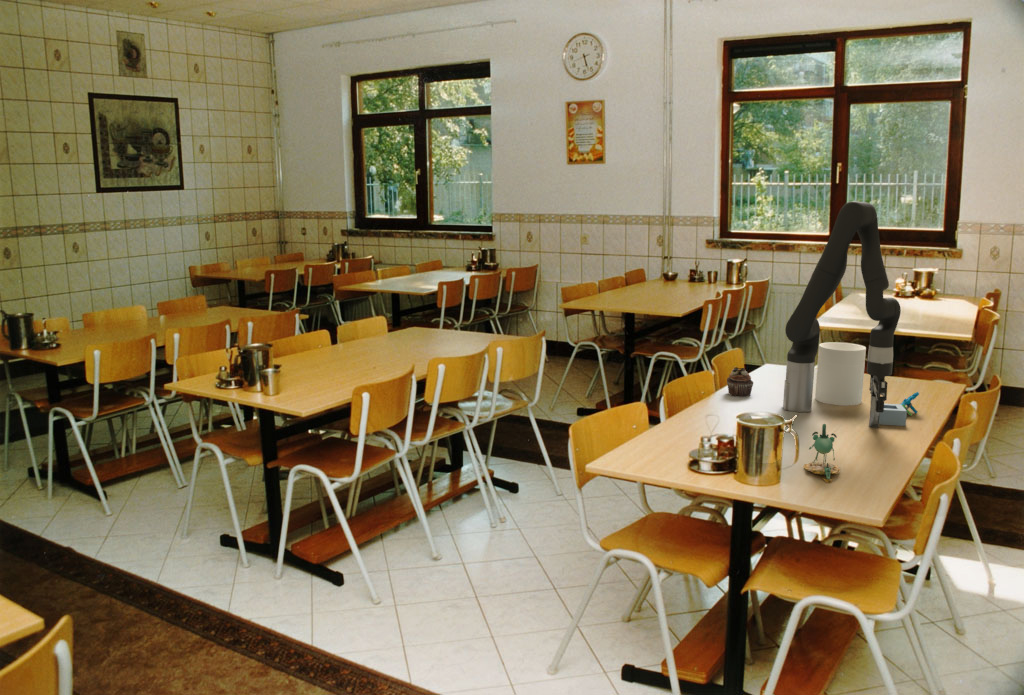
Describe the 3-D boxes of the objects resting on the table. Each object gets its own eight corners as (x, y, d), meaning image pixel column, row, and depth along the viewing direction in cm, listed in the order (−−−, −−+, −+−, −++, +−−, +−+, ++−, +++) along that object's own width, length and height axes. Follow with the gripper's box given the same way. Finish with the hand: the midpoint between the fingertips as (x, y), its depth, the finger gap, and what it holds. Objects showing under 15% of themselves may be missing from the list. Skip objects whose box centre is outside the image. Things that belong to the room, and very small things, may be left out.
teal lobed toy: (897, 402, 314) (919, 386, 308) (909, 415, 313) (932, 400, 307) (888, 413, 306) (910, 397, 300) (900, 426, 305) (923, 410, 298)
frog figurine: (799, 480, 238) (803, 426, 237) (805, 468, 254) (808, 417, 253) (837, 485, 234) (841, 429, 233) (840, 472, 251) (844, 420, 250)
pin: (869, 427, 288) (872, 397, 286) (868, 425, 291) (870, 395, 289) (879, 428, 288) (882, 398, 286) (877, 425, 290) (880, 396, 289)
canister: (854, 395, 331) (858, 342, 327) (867, 406, 316) (871, 351, 312) (810, 394, 333) (814, 341, 329) (820, 404, 317) (824, 349, 313)
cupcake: (754, 397, 327) (755, 371, 325) (727, 396, 328) (728, 370, 326) (751, 391, 336) (752, 365, 334) (725, 390, 337) (726, 364, 336)
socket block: (876, 424, 292) (877, 409, 291) (871, 417, 301) (872, 402, 300) (905, 425, 291) (907, 411, 290) (899, 418, 299) (901, 404, 298)
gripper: (863, 355, 293) (860, 403, 296) (872, 363, 279) (868, 413, 282) (887, 356, 291) (884, 404, 294) (897, 364, 278) (894, 414, 281)
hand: (876, 408), depth 288 cm, fingers open, 8 cm apart
